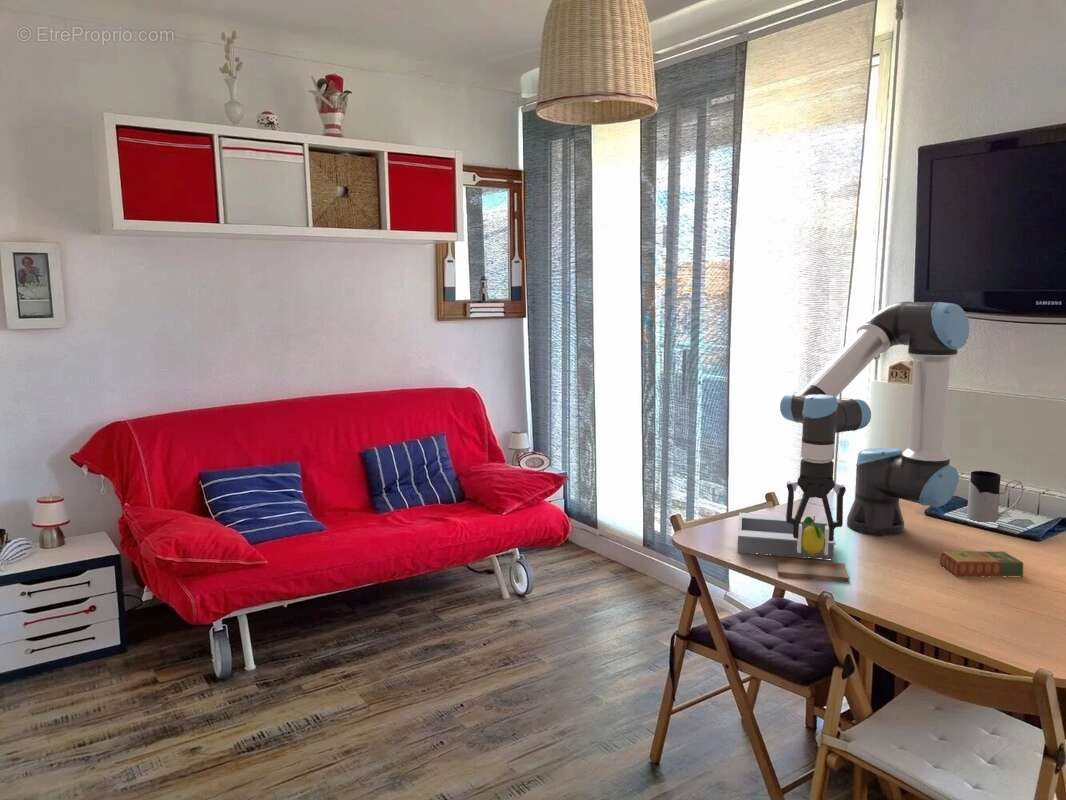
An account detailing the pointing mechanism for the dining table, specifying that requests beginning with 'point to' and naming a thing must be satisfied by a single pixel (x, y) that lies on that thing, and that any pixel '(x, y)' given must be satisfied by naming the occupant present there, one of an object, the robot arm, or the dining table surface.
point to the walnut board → (812, 570)
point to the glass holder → (986, 496)
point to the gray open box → (775, 536)
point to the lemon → (812, 537)
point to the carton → (981, 563)
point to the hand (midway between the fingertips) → (812, 552)
